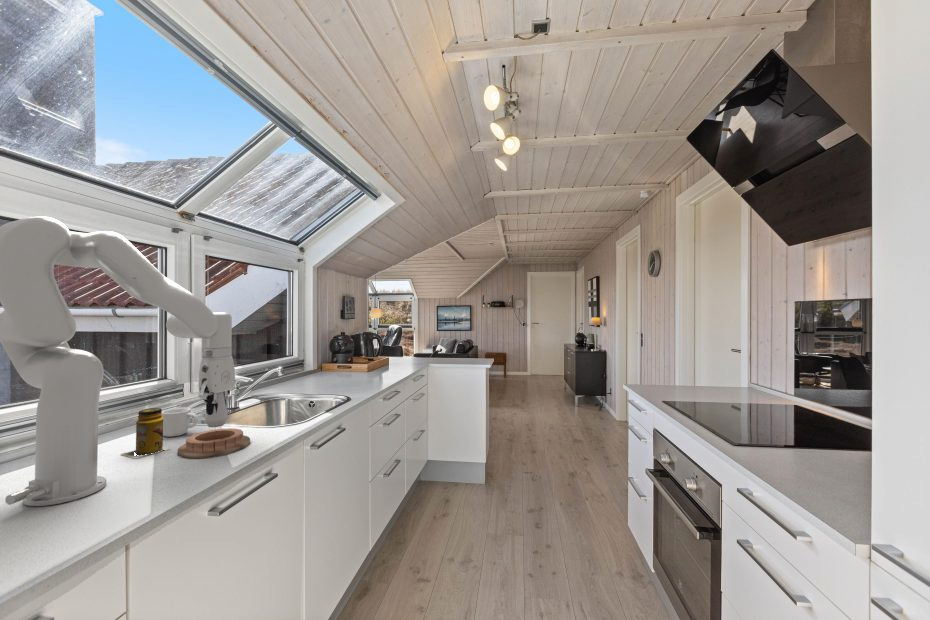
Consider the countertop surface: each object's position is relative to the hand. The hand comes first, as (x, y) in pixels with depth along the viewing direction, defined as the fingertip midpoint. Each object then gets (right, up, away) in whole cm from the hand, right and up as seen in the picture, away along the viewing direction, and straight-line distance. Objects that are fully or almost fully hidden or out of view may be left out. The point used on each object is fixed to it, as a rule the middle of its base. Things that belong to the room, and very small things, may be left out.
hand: (216, 414), depth 113 cm
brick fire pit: (0, -10, 0) cm, 10 cm away
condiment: (-17, -10, -5) cm, 20 cm away
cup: (-20, -10, +12) cm, 25 cm away
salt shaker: (0, -3, 0) cm, 3 cm away
